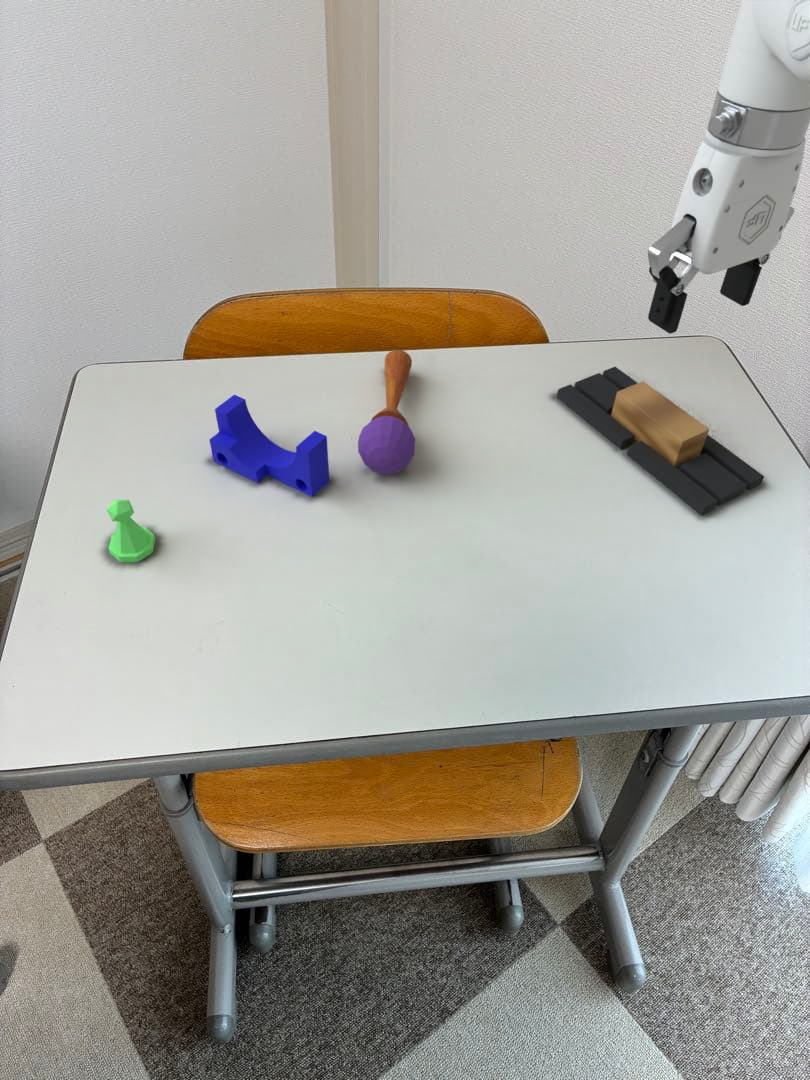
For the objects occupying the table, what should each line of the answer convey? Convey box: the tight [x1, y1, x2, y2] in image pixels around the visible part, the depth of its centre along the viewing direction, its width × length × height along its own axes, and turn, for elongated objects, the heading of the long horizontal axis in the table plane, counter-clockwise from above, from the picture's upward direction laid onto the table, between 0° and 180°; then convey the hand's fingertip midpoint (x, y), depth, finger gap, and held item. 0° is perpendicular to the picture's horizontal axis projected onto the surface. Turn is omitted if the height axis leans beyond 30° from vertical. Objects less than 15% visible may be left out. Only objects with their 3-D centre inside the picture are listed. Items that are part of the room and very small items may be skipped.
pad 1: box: [556, 366, 638, 450], centre depth 92 cm, size 11×9×1 cm
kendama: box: [357, 349, 416, 475], centre depth 88 cm, size 6×6×20 cm
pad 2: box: [626, 434, 765, 516], centre depth 85 cm, size 11×9×1 cm
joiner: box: [610, 380, 710, 469], centre depth 88 cm, size 10×4×4 cm, turn 33°
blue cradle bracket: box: [208, 394, 330, 498], centre depth 82 cm, size 12×4×6 cm, turn 58°
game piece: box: [106, 499, 157, 563], centre depth 74 cm, size 4×4×6 cm
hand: (698, 312), depth 76 cm, fingers open, 9 cm apart
